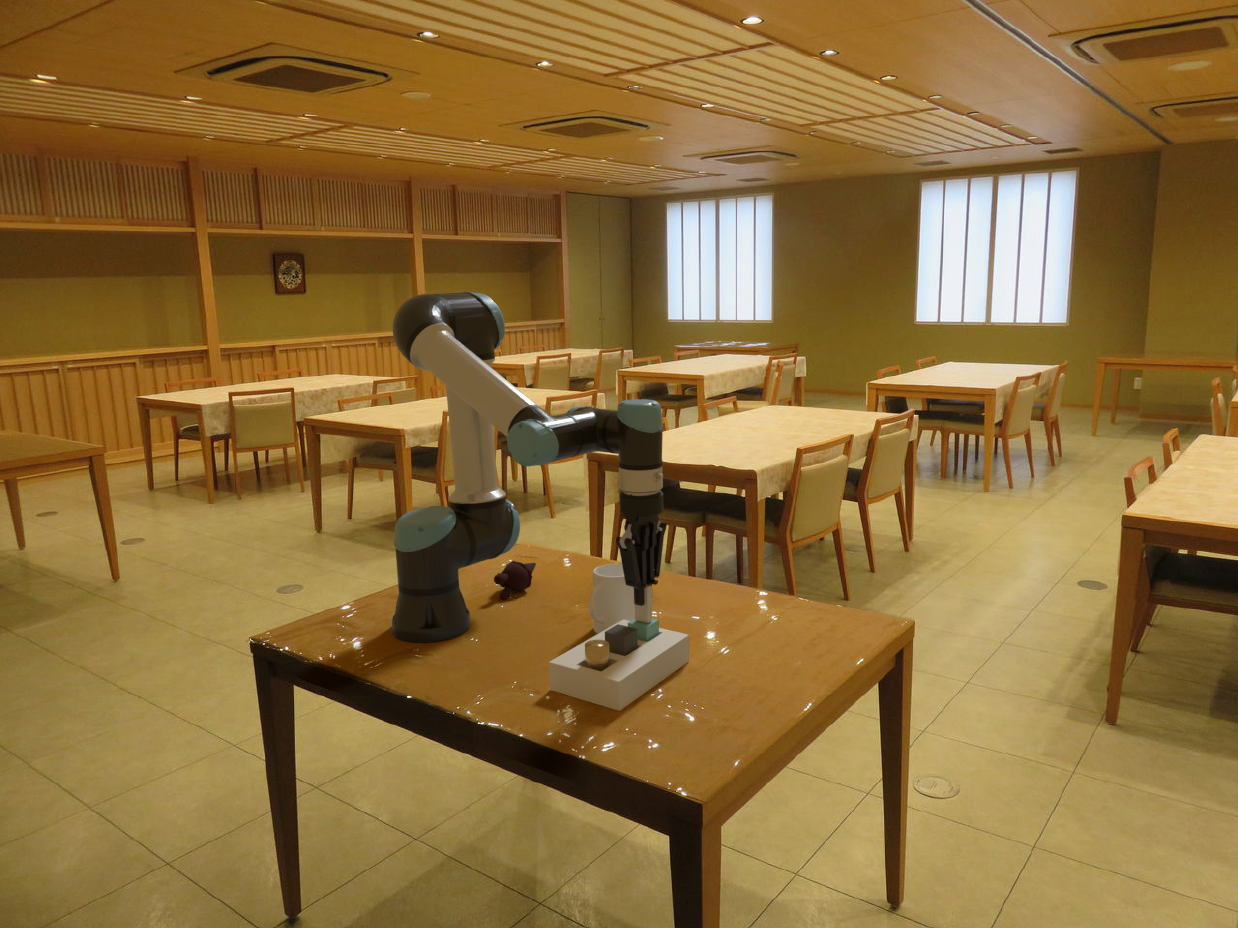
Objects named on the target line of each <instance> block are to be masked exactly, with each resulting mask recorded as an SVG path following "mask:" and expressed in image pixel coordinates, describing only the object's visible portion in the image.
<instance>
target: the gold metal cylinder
mask: <svg viewBox="0 0 1238 928" xmlns="http://www.w3.org/2000/svg"><path fill="white" fill-rule="evenodd" d="M585 665H586V668H590V669H593V670H597V671H603V670H605V669H606V668H608V667H609V666H610V654H609V643H608V642H607V641H605V640H591V641H588V642H586V643H585Z"/></svg>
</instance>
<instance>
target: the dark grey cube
mask: <svg viewBox="0 0 1238 928" xmlns="http://www.w3.org/2000/svg"><path fill="white" fill-rule="evenodd" d="M605 641H607V642H608V643H609V652H611V653H615V654H619V655H622V656H627V655H628V654H630V653H631V652H633V651H634V650H636V649H638V644H637V629H636V628H632V627H627V626H623V625H619V624H617V625H616V626H614V627H612V628H611V629H609V630H607V631H605Z"/></svg>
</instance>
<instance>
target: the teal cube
mask: <svg viewBox="0 0 1238 928" xmlns="http://www.w3.org/2000/svg"><path fill="white" fill-rule="evenodd" d="M628 627H632V628H636V629H637V639H638V640H642V641H646V642H649V641H650V640H652V639H653V638H655V637H657V636H658V635H659V628H660V619H656V618H653V617H652V621H651V622H649V623H645V622H641V621H636V620H635V619H633V620H631V621H630V622H628Z"/></svg>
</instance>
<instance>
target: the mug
mask: <svg viewBox="0 0 1238 928" xmlns="http://www.w3.org/2000/svg"><path fill="white" fill-rule="evenodd" d="M592 577H593V578H592V579H593V581H592V582H593V590H592V592H591V594H590V596H589V601H588V608H589V611H588V612H589V614H590V616H591V618H592V619H593V623H594V624H593V631H594V632H595V634H596V635H597V634H599V633H600V632H602V631H604V630H606V629H607V628H609V627H611V626H613V625H614V624H616V623H618V622H620V621H621V620H623V619H624V620H628V621H631V620H633V619H635V604H634V588H633V587H632V586H627V585H626V583H625V578H624V572H623V566H622V563H608V564H602V565H599V566H596V567H595V568H594V569H593V571H592Z"/></svg>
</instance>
